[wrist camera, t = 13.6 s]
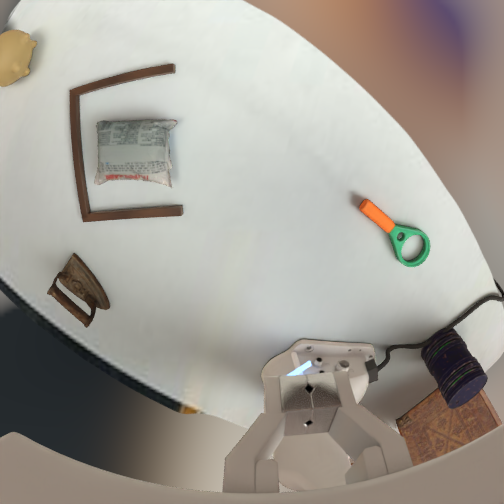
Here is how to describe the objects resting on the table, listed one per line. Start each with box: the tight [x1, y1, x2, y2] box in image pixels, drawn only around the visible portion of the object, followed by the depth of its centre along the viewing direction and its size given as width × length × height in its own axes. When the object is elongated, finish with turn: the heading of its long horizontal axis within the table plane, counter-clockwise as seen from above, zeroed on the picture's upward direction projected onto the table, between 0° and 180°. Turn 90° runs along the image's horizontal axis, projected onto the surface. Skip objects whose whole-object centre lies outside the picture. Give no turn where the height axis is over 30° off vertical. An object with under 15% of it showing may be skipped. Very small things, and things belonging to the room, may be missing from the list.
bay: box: [70, 64, 183, 222], centre depth 32 cm, size 16×20×1 cm
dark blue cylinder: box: [421, 328, 488, 409], centre depth 41 cm, size 10×10×15 cm
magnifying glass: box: [359, 199, 430, 267], centre depth 37 cm, size 15×6×2 cm, turn 57°
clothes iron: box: [47, 253, 110, 328], centre depth 39 cm, size 7×11×10 cm, turn 43°
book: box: [396, 388, 502, 466], centre depth 44 cm, size 25×9×30 cm, turn 147°
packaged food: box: [94, 120, 177, 188], centre depth 31 cm, size 9×12×5 cm
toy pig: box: [0, 30, 37, 87], centre depth 21 cm, size 10×12×11 cm
